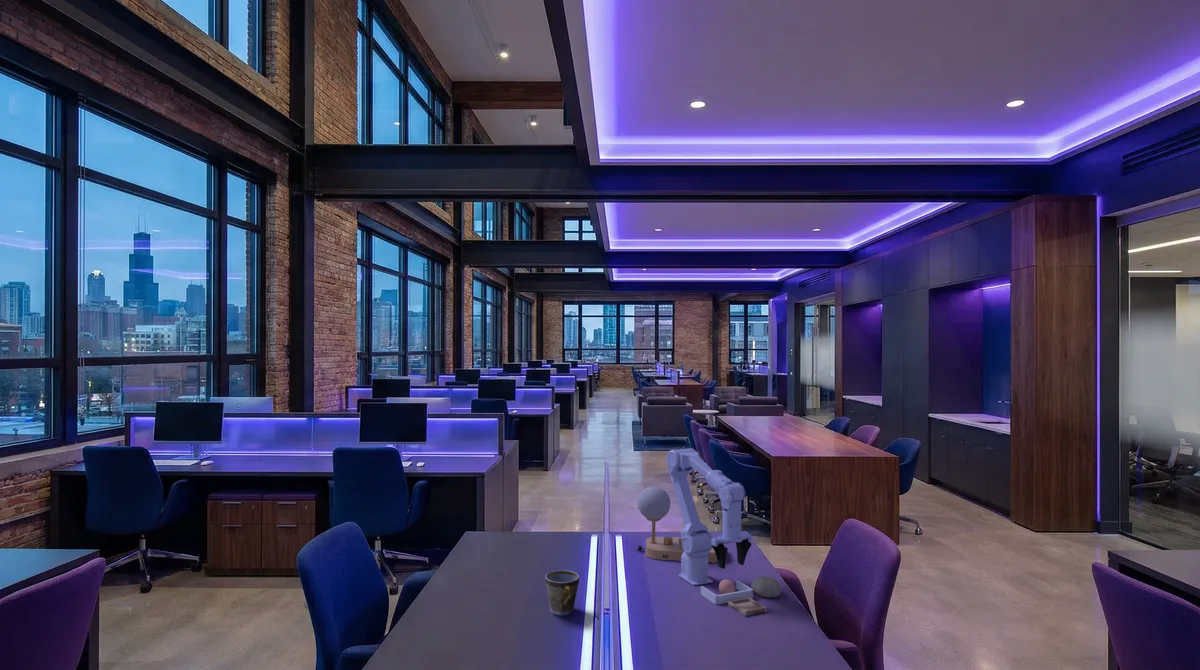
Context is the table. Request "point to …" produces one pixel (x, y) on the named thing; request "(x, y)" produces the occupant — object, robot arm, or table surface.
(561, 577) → the ceramic cup
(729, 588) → the ball
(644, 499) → the lamp
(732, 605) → the tray
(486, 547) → the table surface
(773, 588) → the sea urchin shell
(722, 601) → the white u-shaped arch
